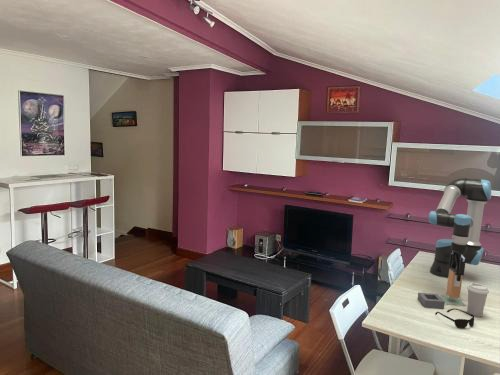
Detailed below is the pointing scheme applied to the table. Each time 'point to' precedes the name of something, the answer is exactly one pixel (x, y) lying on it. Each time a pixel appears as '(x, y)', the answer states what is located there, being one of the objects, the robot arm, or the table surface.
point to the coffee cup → (476, 298)
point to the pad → (452, 301)
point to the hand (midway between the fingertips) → (454, 284)
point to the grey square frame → (431, 300)
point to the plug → (451, 289)
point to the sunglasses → (460, 322)
